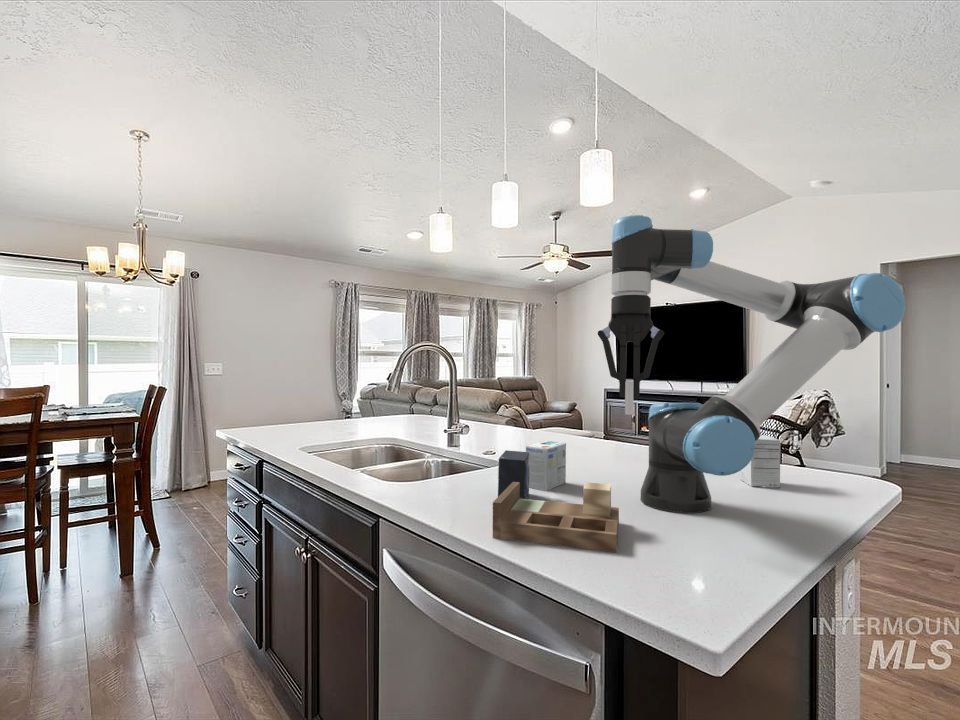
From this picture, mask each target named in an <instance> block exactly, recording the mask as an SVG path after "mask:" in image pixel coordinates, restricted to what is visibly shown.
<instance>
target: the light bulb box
mask: <svg viewBox="0 0 960 720" xmlns="http://www.w3.org/2000/svg"><path fill="white" fill-rule="evenodd" d="M525 452H529V458H530V466H529V489H535V490H540V491H546V492H548V491H551V490H552V489H555V488H557V487H559V486H560V485H563V484H565V483H566V481H567V480H566V477H567V474H566V473H567V472H566V467H567V466H566V465H567V461H566V460H567V443H566V442H561V441H560V442H559V441H549V440H543V441H540V442H536V443H533V444H530V445H526V446H525Z"/></svg>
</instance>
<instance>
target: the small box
mask: <svg viewBox="0 0 960 720" xmlns="http://www.w3.org/2000/svg"><path fill="white" fill-rule="evenodd" d="M497 466H498V470H497V471H498V473H497V476H498V477H497V480H498V483H497V498H498V497H499V495H500V494H501V493H502V492H503V491H504V490H505V489H506V488H507V487H508V486H509V485H510V484H511V483H512V482H520V499H528V497H529V494H530V488H529V466H530V458H529V452H526V451H518V450H504V451H503V453H502V454H501V455H500V456H499V458H498V465H497Z"/></svg>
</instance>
